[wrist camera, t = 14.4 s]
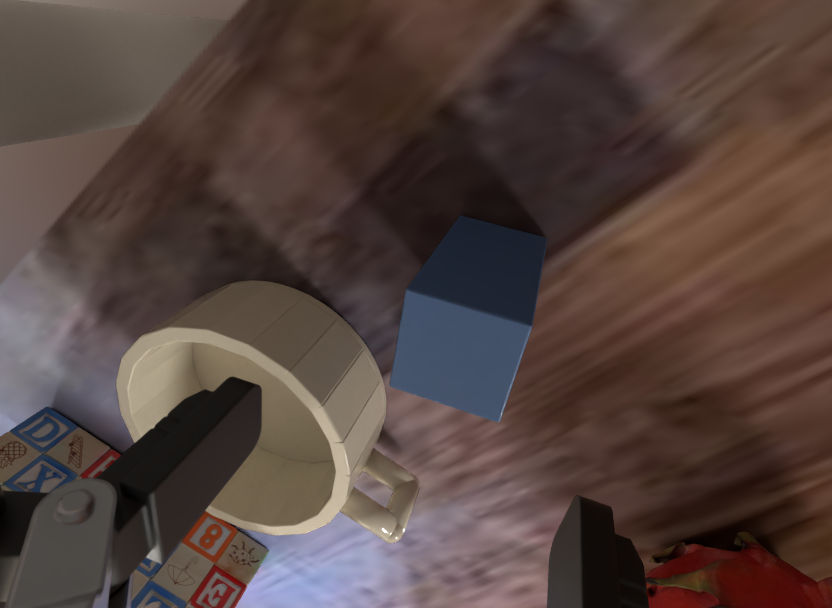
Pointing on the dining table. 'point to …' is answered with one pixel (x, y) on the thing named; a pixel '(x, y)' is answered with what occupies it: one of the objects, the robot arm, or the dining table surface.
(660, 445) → the dining table surface
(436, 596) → the dining table surface
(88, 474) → the stack of blocks
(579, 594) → the robot arm
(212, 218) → the dining table surface
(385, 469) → the mug
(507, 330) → the block
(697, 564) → the dragon fruit
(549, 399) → the dining table surface
